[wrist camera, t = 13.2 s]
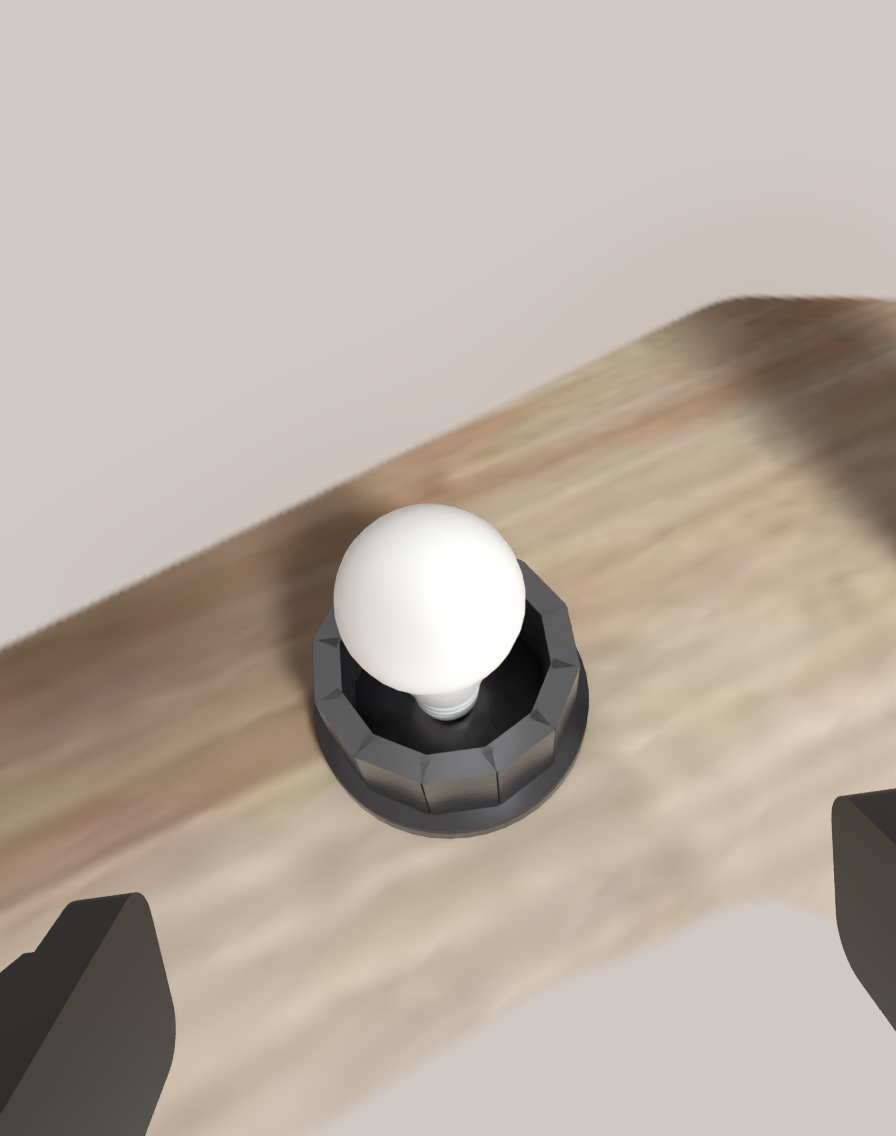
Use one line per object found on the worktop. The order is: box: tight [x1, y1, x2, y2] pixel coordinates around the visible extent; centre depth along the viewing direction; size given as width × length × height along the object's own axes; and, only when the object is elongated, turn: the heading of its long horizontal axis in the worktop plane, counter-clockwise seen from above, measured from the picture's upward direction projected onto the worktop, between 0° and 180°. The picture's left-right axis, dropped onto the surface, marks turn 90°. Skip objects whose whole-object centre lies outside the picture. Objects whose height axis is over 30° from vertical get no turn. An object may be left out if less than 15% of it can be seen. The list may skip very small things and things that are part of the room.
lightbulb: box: [334, 504, 525, 721], centre depth 29 cm, size 6×6×11 cm
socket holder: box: [313, 559, 589, 839], centre depth 33 cm, size 11×11×4 cm
